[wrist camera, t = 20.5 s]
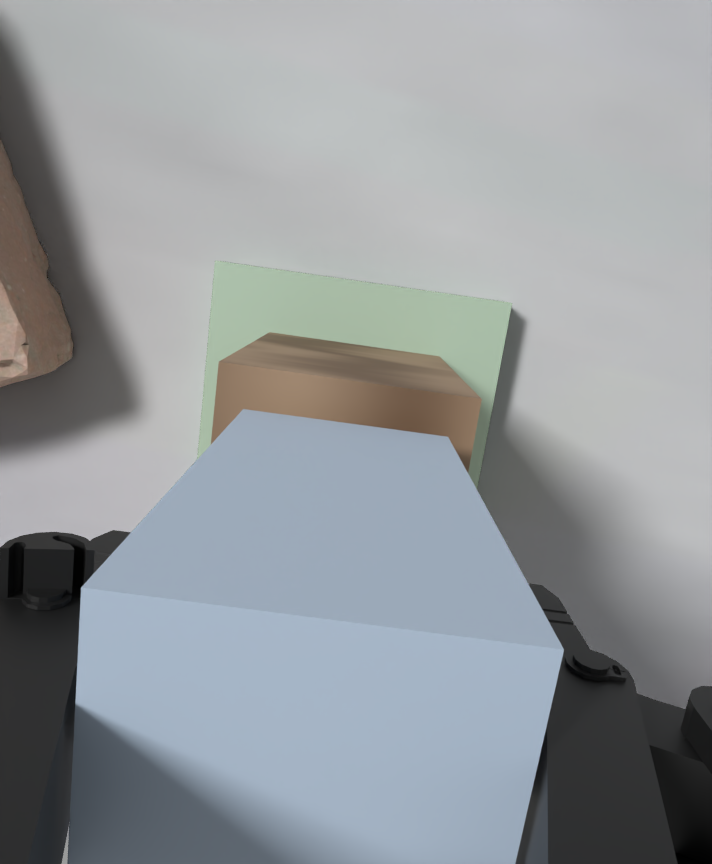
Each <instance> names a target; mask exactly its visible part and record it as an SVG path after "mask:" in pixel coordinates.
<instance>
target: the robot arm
mask: <svg viewBox="0 0 712 864" xmlns="http://www.w3.org/2000/svg"><path fill="white" fill-rule="evenodd" d="M129 534H130V532H122V531H115V530H113V531H110V532H108V533H105V534H103V535H100V536H98V537H96V538H93V539H92V540H91V541H89V540H88V539H86V538H84V537H81V536H78V535H74V534H69V533H59V532H45V533H34V534H29V535H23V536H20V537H17V538H14V539H12V540H9V541H7V542H6V543H5V544H4V545H3V546H1V547H0V864H61V863H62V858H63V852H64V847H65V842H66V837H67V831H68V826H69V821H70V803H71V783H72V763H73V742H74V722H75V702H76V681H77V661H78V641H79V620H80V600H81V587H82V586H83V585H84V584H85V583H86V582H87V580H88V579H89V578H90V577H91V576H92V575H93V574H94V573H95V572H96V571H97V569H98V568H99V567H100V566H101V565H102V564H103V563H104V562H105V561H106V560H107V558H108V557H109V556H110V555H111V554H112V553H113V552H114V551H115V550H116V549H117V547H118V546H119V545H120V544H121V543H122V542H123V541H124V540H125V539H126V538H127V536H128V535H129ZM529 586H530V588H531V590H532V592H533V594H534V595H535V597H536V599H537V601H538V603H539V605H540V606H541V608H542V610H543V612H544V614H545V616H546V618H547V619H548V621H549V623H550V625H551V627H552V629H553V630H554V632H555V634H556V636H557V638H558V640H559V641H560V643H561V645H562V647H563V649H564V652H563V657H562V661H561V665H560V670H559V674H558V678H557V683H556V687H555V692H554V696H553V700H552V705H551V709H550V714H549V718H548V722H547V727H546V731H545V735H544V740H543V744H542V749H541V753H540V757H539V762H538V766H537V771H536V775H535V779H534V784H533V788H532V793H531V797H530V801H529V806H528V810H527V814H526V819H525V823H524V828H523V832H522V836H521V841H520V845H519V850H518V854H517V858H516V863H515V864H712V686H701V687H698V688H696V689H693V690H692V692H691V694H690V697H689V700H688V704H687V707H686V709H682V708H679V707H676V706H673V705H669V704H666V703H663V702H660V701H656V700H653V699H650V698H648V697H645V696H642V695H640V694H637V692H636V688H635V684H634V680H633V678H632V677H631V675H630V673H629V672H628V671H627V670H626V669H625V668H624V667H623V666H622V665H620V664H619V663H618V662H616V661H615V660H613V659H611V658H609V657H607V656H605V655H604V654H601V653H598V652H595V651H592V650H590V649H589V647H588V645H587V644H586V642H585V641H584V639H583V637H582V636H581V634H580V632H579V631H578V629H577V628H576V626H575V625H573V621H572V619H571V618H570V616H569V614H567V611H566V610H565V608H564V606H563V605H562V603H561V601H560V600H559V598H558V597H556V596H555V595H554V594H552V593H551V592H550V591H548V590H547V589H546V588H544V587H543V586H542V585H535V584H529Z"/></svg>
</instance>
